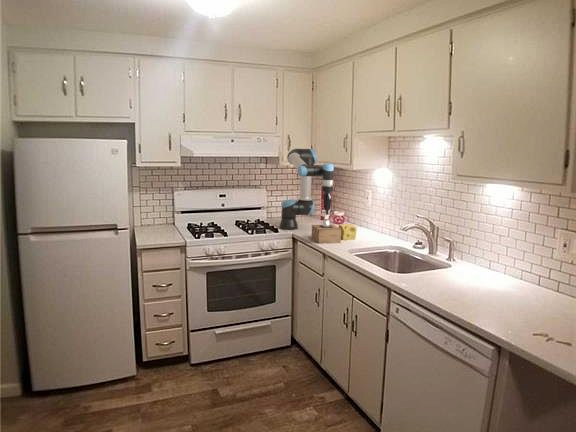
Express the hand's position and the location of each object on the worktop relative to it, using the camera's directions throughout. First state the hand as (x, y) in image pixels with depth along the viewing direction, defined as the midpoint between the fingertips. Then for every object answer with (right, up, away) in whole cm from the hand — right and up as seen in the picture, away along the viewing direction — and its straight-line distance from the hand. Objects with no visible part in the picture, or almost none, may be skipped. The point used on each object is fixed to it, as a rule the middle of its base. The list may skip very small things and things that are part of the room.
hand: (326, 218), depth 302 cm
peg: (0, -11, +2) cm, 11 cm away
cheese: (+16, -15, +12) cm, 25 cm away
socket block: (0, -16, +3) cm, 16 cm away
